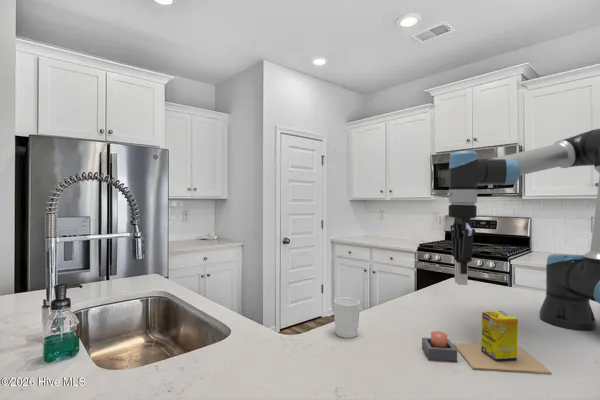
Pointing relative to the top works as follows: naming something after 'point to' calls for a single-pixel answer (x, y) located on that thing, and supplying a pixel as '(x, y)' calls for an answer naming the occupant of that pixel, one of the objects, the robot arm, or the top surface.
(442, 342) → the button
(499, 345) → the supplement box
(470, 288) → the top surface
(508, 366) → the thin tan board
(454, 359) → the button housing
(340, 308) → the white cup
